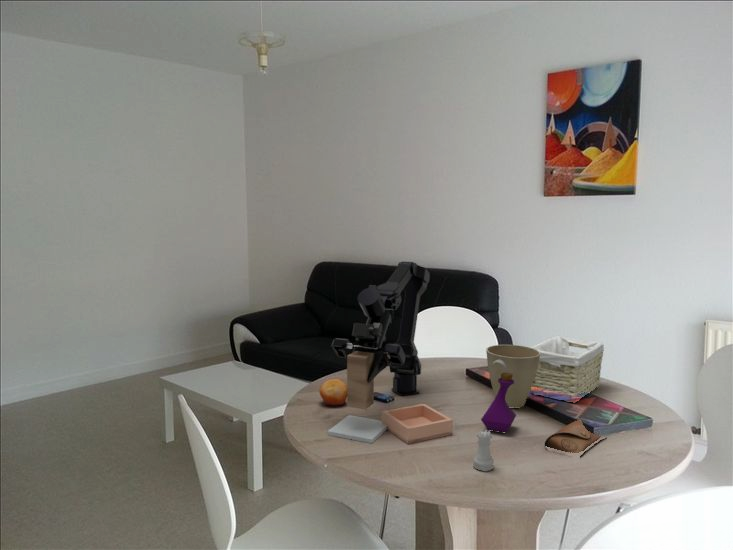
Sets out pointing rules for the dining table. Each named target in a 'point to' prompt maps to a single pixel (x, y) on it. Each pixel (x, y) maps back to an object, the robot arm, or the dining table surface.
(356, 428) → the light grey board
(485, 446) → the rook chess piece
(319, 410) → the dining table surface
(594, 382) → the storage basket
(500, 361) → the perfume bottle
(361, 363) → the walnut block
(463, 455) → the dining table surface
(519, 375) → the plant pot
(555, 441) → the sunglasses case
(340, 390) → the fruit
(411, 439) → the box
